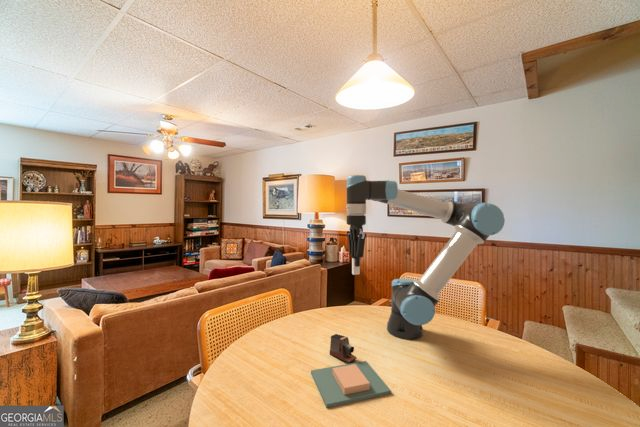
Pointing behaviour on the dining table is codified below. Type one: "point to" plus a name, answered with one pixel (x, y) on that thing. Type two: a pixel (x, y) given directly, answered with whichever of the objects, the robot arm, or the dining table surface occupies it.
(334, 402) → the mat
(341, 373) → the tile
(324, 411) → the dining table surface
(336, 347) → the electronic device
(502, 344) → the dining table surface
